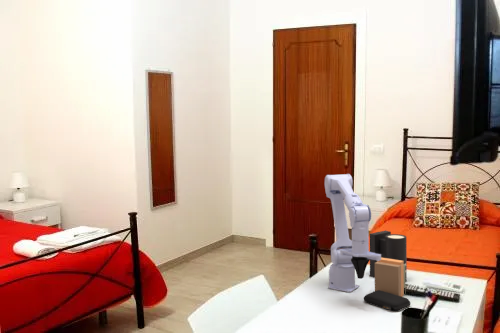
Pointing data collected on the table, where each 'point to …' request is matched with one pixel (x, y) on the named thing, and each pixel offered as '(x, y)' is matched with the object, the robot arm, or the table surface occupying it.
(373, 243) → the light fixture
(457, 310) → the table surface
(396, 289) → the tan upright slab
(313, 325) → the table surface
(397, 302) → the carrying case or bag
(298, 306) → the table surface
